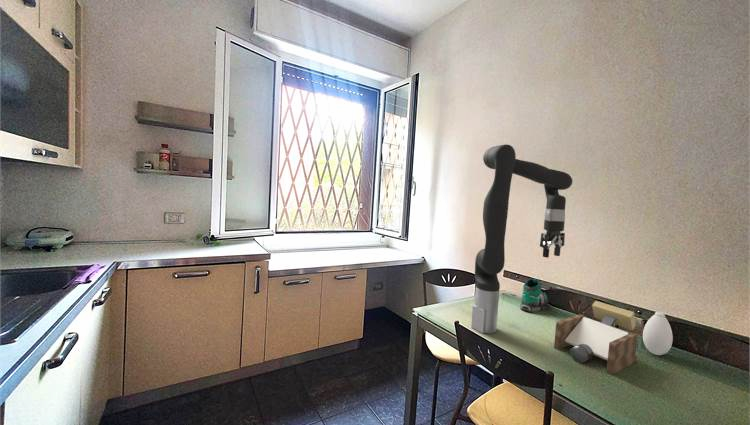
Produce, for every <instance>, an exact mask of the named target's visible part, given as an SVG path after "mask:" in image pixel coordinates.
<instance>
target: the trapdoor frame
mask: <svg viewBox="0 0 750 425" xmlns="http://www.w3.org/2000/svg"><path fill="white" fill-rule="evenodd" d="M583 317H586V315H585V314H581V313H580V314H577V315H573V316H569V317H567V318H564V319H561V320H557V321H556V322H555V333H554V343H553V344H554V346H553V348H554V349H556V350H558V351H559V350H561V349H565V348H567V347H570V346H572V345H571V344H569V343H566V342H565V339H566V338H567V337H568V335H569V334H570V333H571V332H572V331H573V329H574V328H575V327H576V326H577V325H578V323H579V322H580V321H581V320H582V319H583ZM629 333H630V334H627V335H625V336H623V337H621V338H619V339H616V340H614V341H612V342H610V343H609V351H608V361H607V360H606V361H607V362H606V370H605V371H606V372H605V373H607V374H608V375H610V376H613V375H615V374H617V373H619V372H620V371H622V370H624V369H625V368H628V367H629V366H630V365H633V364H635V363H636V362H638V358H639V356H638V355H637V346H638V338H639V334H638V333H637V332H633V331H632V332H629Z"/></svg>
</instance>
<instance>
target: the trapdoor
mask: <svg viewBox="0 0 750 425" xmlns="http://www.w3.org/2000/svg"><path fill="white" fill-rule="evenodd" d="M591 306H592V312H593V317H594V318H596V319H599V320H601V321H597V320H595V319H592V318H589V317H587V316H585V317H583V319H582V320H581V321H580V322H579V323H578V325H577V326H576V327H575V328H574V329H573V331H572V332H571V333H570V334H569V335H568V337H567V338H566V339H565V342H566V343H569V344H571V345H570V346H573V347H575V346H577V345H579V344H586V345H588V346H589V347H590V348H591V349H592V350H593V353H594V355H593V356H596V357H598V358H601V359H603V360H606V361H608V351H609V343H610V342H612V341H614V340H616V339H619V338H621V337H623V336H625V335H627V334H630V333H631V332H629V331H626V330H623V329H621V328H626V329H628V330H630V331H633V330H634V329H635V328H636V326H637V325H636V323H637V322H636V316H635V312H634V311H632V310H628V309H625V308H622V307H618V306H615V305H611V304H608V303H605V302H601V301H597V300H595V301H594V302H593V303H592V305H591ZM613 325H616V326H619V327H621V328H618V327H615V326H613Z"/></svg>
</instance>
